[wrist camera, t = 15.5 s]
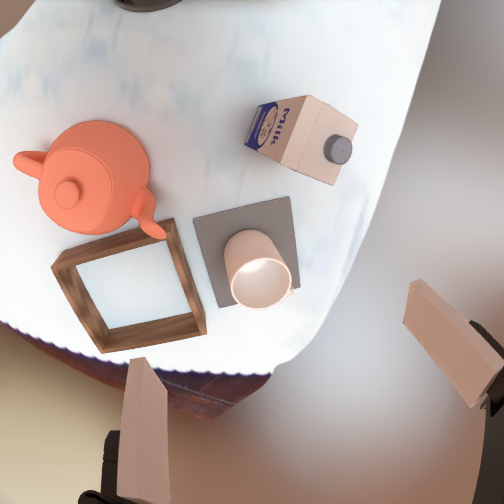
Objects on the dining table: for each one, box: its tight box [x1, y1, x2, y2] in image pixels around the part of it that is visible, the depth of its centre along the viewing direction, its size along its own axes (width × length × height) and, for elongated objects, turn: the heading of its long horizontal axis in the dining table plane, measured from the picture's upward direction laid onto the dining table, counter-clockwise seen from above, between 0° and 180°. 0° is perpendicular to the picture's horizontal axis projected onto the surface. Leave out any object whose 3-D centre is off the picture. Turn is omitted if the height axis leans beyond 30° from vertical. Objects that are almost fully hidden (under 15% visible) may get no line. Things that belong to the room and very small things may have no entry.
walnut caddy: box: [51, 218, 207, 354], centre depth 45 cm, size 20×22×6 cm
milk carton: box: [244, 94, 358, 186], centre depth 32 cm, size 7×7×20 cm
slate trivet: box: [193, 197, 300, 308], centre depth 49 cm, size 18×16×1 cm
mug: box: [224, 230, 294, 310], centre depth 44 cm, size 9×12×11 cm
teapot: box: [13, 121, 166, 239], centre depth 33 cm, size 25×17×13 cm
